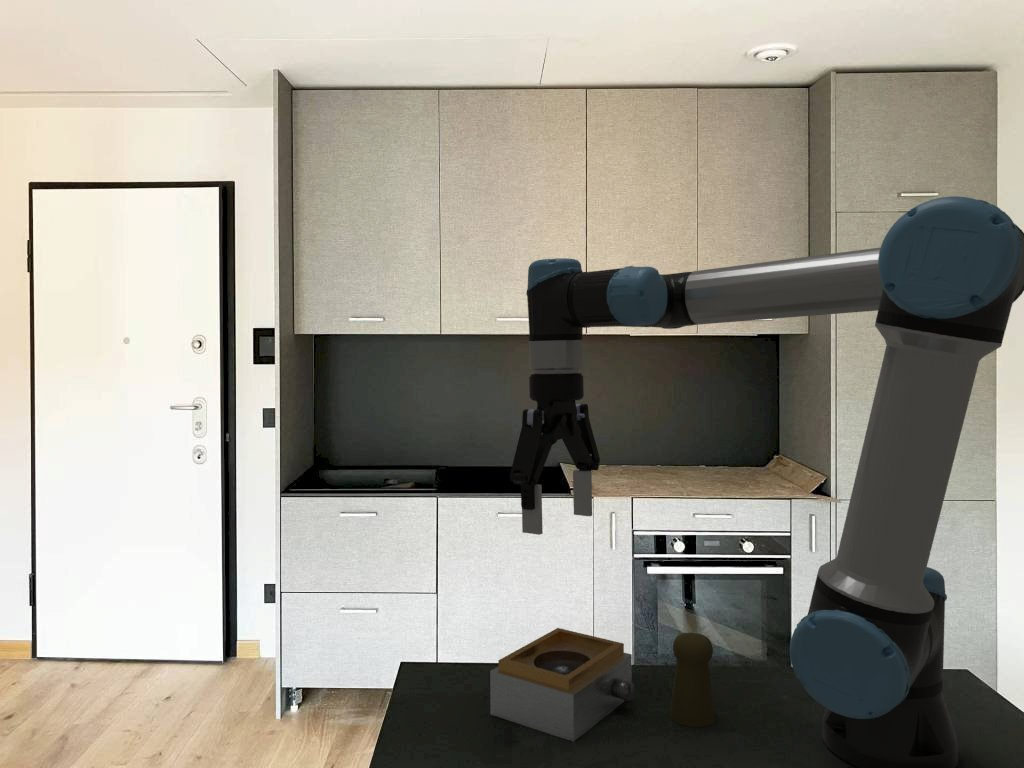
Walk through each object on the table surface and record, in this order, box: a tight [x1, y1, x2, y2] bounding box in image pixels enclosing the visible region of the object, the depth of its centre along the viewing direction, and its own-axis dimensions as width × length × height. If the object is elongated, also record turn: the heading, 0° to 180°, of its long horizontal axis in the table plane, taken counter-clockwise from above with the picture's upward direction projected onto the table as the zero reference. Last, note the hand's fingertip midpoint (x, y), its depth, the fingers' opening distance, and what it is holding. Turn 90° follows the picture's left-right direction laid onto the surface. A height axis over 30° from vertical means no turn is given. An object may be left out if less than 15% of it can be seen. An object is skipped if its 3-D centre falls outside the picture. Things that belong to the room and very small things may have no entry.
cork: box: [668, 632, 716, 728], centre depth 107 cm, size 6×6×11 cm
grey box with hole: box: [489, 627, 636, 743], centre depth 110 cm, size 15×16×8 cm
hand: (558, 524), depth 112 cm, fingers open, 13 cm apart
